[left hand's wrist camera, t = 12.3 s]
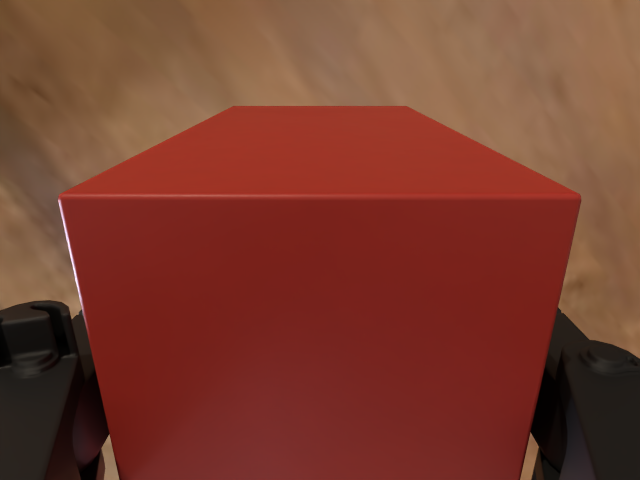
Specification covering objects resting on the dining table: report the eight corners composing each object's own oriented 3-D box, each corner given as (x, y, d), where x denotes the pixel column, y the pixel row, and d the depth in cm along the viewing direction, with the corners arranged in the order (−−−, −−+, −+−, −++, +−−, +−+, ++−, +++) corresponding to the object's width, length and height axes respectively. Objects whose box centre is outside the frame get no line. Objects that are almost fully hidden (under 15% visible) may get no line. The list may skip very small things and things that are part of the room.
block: (408, 105, 16) (586, 194, 5) (394, 307, 19) (489, 623, 8) (231, 105, 16) (53, 193, 5) (245, 307, 19) (149, 623, 8)
